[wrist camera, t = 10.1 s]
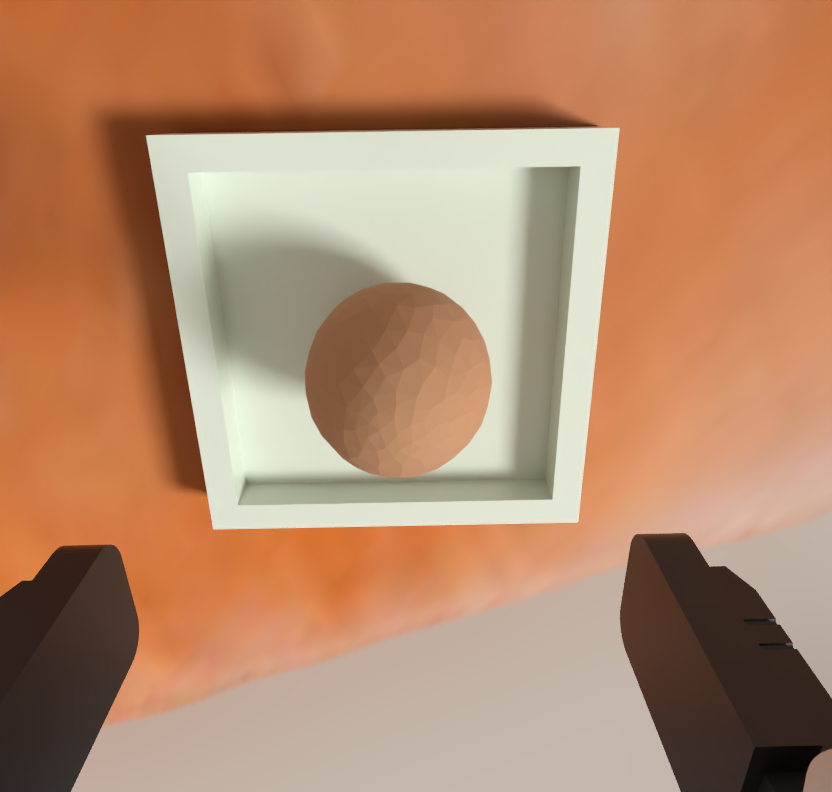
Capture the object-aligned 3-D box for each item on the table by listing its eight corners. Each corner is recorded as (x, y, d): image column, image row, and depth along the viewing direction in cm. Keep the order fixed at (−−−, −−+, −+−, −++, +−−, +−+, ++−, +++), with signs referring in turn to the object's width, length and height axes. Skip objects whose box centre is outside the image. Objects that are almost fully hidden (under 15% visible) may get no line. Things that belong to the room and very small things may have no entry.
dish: (170, 133, 20) (145, 135, 18) (599, 126, 20) (619, 128, 18) (227, 498, 25) (213, 529, 23) (565, 492, 25) (578, 522, 23)
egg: (286, 334, 22) (236, 427, 15) (406, 226, 20) (405, 278, 14) (394, 440, 23) (389, 564, 17) (511, 346, 22) (554, 443, 16)
